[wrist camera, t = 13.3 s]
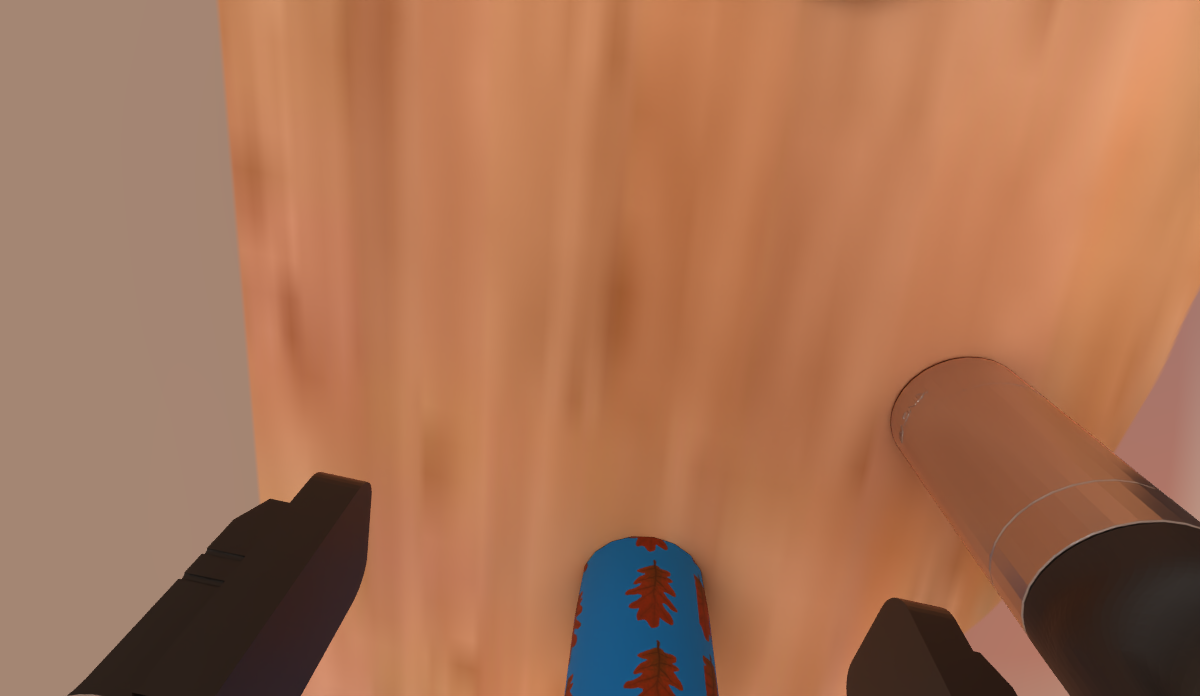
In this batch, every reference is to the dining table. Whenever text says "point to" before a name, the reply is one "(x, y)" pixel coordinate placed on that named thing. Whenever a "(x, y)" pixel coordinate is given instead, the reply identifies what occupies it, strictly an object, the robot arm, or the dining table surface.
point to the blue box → (641, 624)
